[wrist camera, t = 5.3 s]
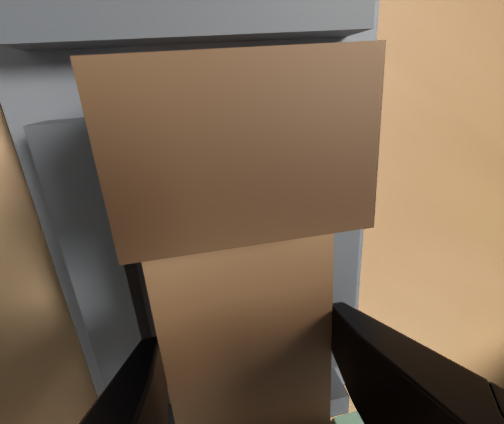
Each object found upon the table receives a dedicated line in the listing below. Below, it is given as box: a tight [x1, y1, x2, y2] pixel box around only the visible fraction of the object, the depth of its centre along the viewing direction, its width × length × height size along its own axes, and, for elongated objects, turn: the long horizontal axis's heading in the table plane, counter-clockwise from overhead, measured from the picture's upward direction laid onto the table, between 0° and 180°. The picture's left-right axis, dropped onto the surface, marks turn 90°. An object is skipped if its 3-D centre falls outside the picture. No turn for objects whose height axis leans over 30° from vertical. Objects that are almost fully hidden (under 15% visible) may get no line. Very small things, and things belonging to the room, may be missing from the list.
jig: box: [0, 0, 379, 424], centre depth 12 cm, size 16×11×2 cm
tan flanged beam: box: [70, 40, 386, 424], centre depth 9 cm, size 12×4×6 cm, turn 4°
